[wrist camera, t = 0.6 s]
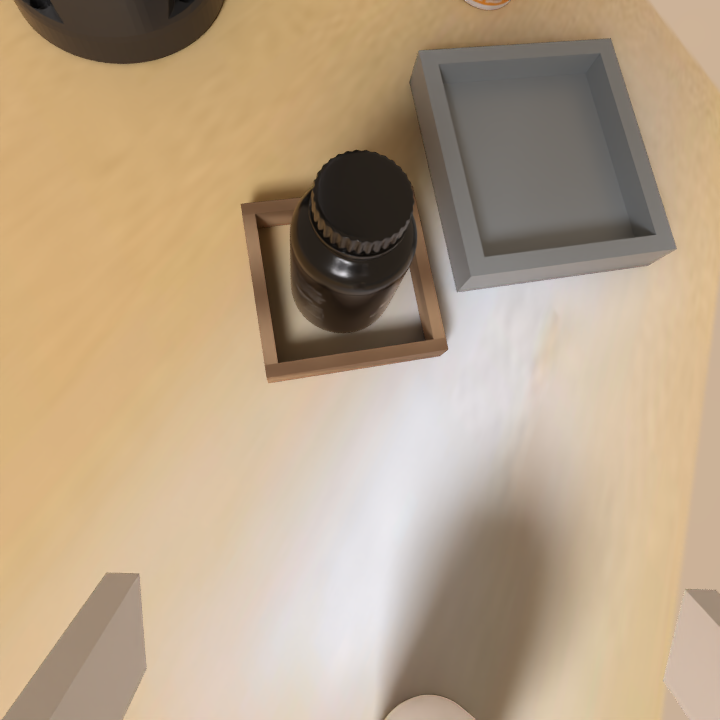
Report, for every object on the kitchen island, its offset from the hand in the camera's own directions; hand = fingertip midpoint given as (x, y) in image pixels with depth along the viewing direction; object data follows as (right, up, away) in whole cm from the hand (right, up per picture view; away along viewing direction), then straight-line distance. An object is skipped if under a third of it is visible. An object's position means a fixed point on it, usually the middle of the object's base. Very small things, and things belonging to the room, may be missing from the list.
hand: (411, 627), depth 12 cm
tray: (+11, +21, +26) cm, 35 cm away
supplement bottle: (-3, +11, +23) cm, 26 cm away
